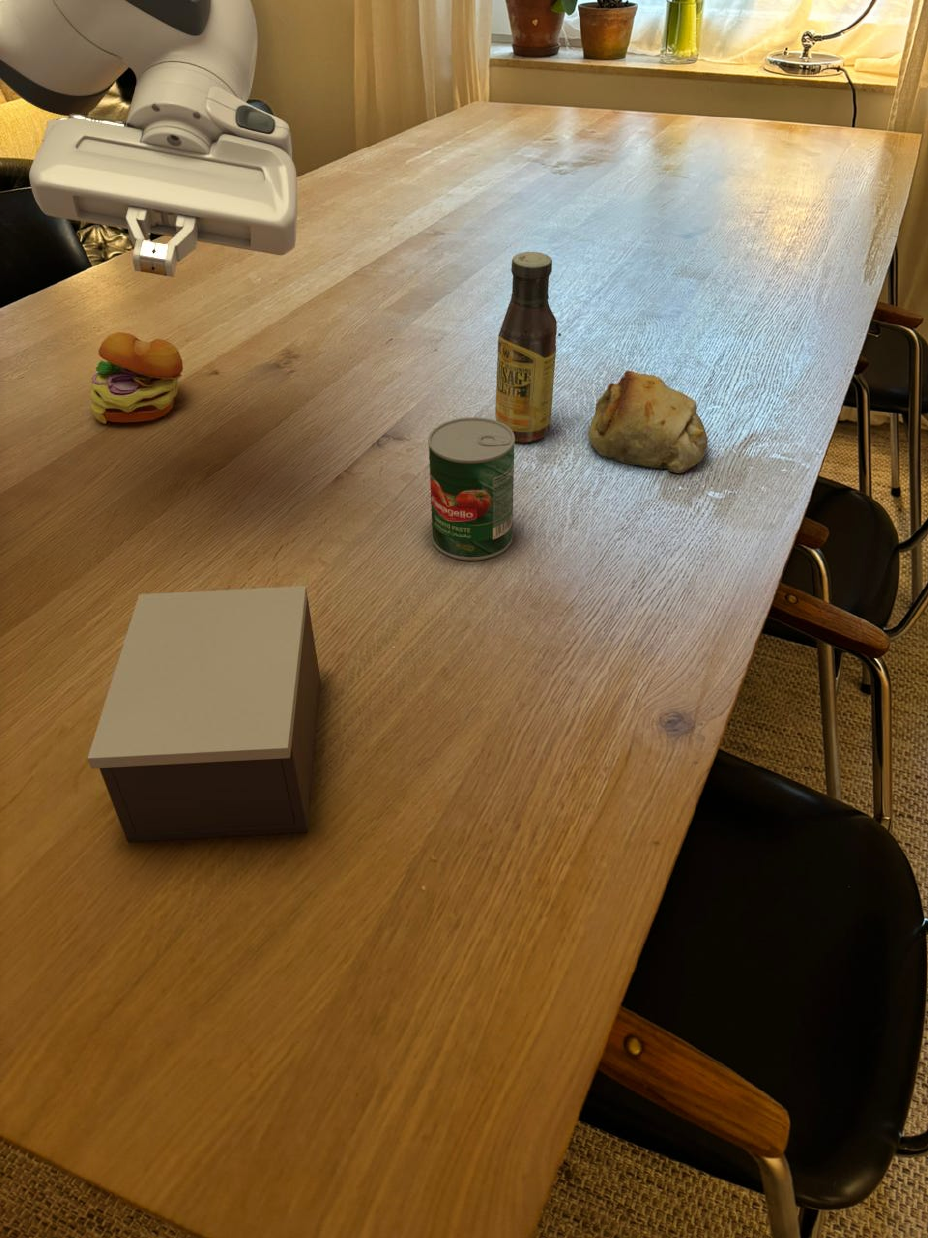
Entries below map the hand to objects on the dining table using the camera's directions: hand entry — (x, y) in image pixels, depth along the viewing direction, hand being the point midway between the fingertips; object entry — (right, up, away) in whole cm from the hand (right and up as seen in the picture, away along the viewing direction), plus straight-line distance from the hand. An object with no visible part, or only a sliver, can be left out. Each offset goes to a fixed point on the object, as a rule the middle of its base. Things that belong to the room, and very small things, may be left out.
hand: (153, 268), depth 76 cm
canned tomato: (+25, -19, +21) cm, 38 cm away
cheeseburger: (-15, -1, +43) cm, 46 cm away
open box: (+6, -37, 0) cm, 37 cm away
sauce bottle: (+30, -6, +37) cm, 48 cm away
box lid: (+6, -31, -6) cm, 32 cm away
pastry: (+44, -8, +34) cm, 56 cm away
